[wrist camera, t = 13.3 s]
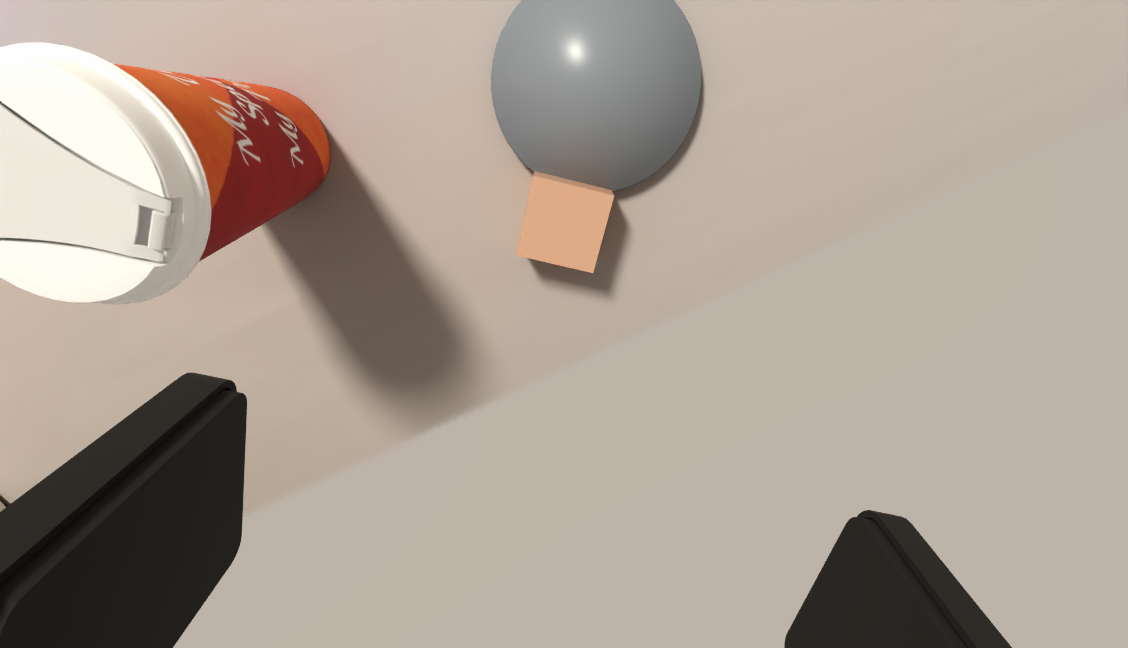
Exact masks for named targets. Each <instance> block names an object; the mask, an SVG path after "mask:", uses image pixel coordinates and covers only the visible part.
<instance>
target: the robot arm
mask: <svg viewBox="0 0 1128 648" xmlns="http://www.w3.org/2000/svg"><path fill="white" fill-rule="evenodd" d="M246 415H247V398H246V396H245V395H244V394H243V393H239V392H237V390H236V386H235V383H234V382H232V381H231V380H226V379H222V378H217V377H212V376H207V375H202V374H197V373H186V374H184V375H182V376H181V377H180V378H178V379H177V380H175V381H174V382H173V383H171V384H170V385H169V386H167V387H166V388H165V389H163V390H162V391H161V392H159V393H158V394H157V395H155V396H154V397H153V398H151V399H150V400H149V401H147V402H146V403H145V404H143V405H142V406H141V407H139V408H138V409H137V410H135V411H134V412H133V413H131V414H130V415H129V416H127V417H126V418H125V419H123V420H122V421H121V422H119V423H118V424H117V425H115V426H114V427H113V428H111V429H110V430H109V431H107V432H106V433H105V434H103V435H102V436H101V437H99V438H98V439H97V440H95V441H94V442H93V443H91V444H90V445H89V446H87V447H86V448H85V449H83V450H82V451H81V452H79V453H78V454H77V455H75V456H74V457H73V458H71V459H70V460H69V461H67V462H66V463H65V464H63V465H62V466H61V467H59V468H58V469H57V470H55V471H54V472H53V473H51V474H50V475H49V476H47V477H46V478H45V479H43V480H42V481H41V482H39V483H38V484H37V485H35V486H34V487H33V488H31V489H30V490H29V491H27V492H26V493H25V494H23V495H22V496H21V497H19V498H18V499H17V500H15V501H14V502H13V503H11V504H10V505H9V506H7V507H6V506H5V505H4V504H3V503H2V502H1V501H0V648H173V646H174V645H175V644H176V642H177V641H178V639H179V638H180V637H181V635H182V634H183V632H184V631H185V629H186V628H187V626H188V625H189V624H190V622H191V621H192V619H193V618H194V616H195V615H196V614H197V612H198V611H199V609H200V608H201V606H202V605H203V603H204V602H205V601H206V599H207V598H208V596H209V595H210V594H211V592H212V591H213V589H214V588H215V586H216V585H217V584H218V582H219V581H220V579H221V578H222V576H223V575H224V574H225V572H226V571H227V569H228V568H229V566H230V565H231V563H232V562H233V560H234V558H235V556H236V554H237V551H238V549H239V546H240V542H241V536H242V513H243V489H244V464H245V439H246ZM785 648H1012V647H1011V646H1010V645H1009V644H1008V642H1007V641H1006V640H1005V639H1004V638H1003V636H1002V635H1001V634H1000V632H999V631H998V630H997V629H996V628H995V627H994V625H993V624H992V623H991V621H990V620H989V619H988V618H987V617H986V615H985V614H984V613H983V611H982V610H981V609H980V608H979V607H978V605H977V604H976V603H975V602H974V601H973V599H972V598H971V597H970V595H969V594H968V593H967V592H966V591H965V589H964V588H963V587H962V586H961V584H960V583H959V582H958V581H957V579H956V578H955V577H954V576H953V574H952V573H951V572H950V571H949V569H948V568H947V567H946V566H945V564H944V563H943V562H942V561H941V560H940V558H939V557H938V556H937V555H936V553H935V552H934V551H933V550H932V548H931V547H930V546H929V545H928V544H927V542H926V541H925V540H924V539H923V537H922V536H921V535H920V534H919V532H918V531H917V530H916V529H915V528H914V526H913V525H912V524H911V523H910V522H909V521H908V520H907V519H906V518H903V517H900V516H895V515H891V514H886V513H881V512H876V511H871V510H867V511H863V512H861V513H860V514H859V515H858V516H857V517H853V518H851V519H850V520H849V521H848V522H847V523H846V525H845V527H844V529H843V531H842V533H841V534H840V536H839V538H838V540H837V542H836V544H835V545H834V547H833V549H832V551H831V553H830V555H829V556H828V558H827V561H826V562H825V564H824V566H823V568H822V570H821V571H820V573H819V575H818V577H817V579H816V581H815V582H814V585H813V587H812V588H811V590H810V592H809V594H808V596H807V598H806V599H805V601H804V603H803V605H802V607H801V609H800V610H799V612H798V614H797V616H796V618H795V620H794V622H793V624H792V625H791V627H790V629H789V631H788V633H787V635H786V639H785Z"/></svg>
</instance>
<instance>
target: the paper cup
mask: <svg viewBox="0 0 1128 648" xmlns="http://www.w3.org/2000/svg"><path fill="white" fill-rule="evenodd" d="M329 164H330V146H329V141H328V137H327V134H326V131H325V129H324V127H323V125H322V123H321V122H320V120H319V118H318V117H317V116H316V114H315V113H314V112H313V111H312V110H311V109H310V108H309V107H308V106H307V105H306V104H305V103H304V102H303V101H301V100H300V99H298V98H297V97H295V96H293V95H291V94H289V93H287V92H285V91H282V90H279V89H276V88H272V87H267V86H262V85H256V84H250V83H244V82H237V81H231V80H224V79H217V78H210V77H203V76H196V75H189V74H182V73H175V72H168V71H160V70H153V69H146V68H139V67H132V66H124V65H117V64H112V63H110V62H108V61H106V60H104V59H102V58H100V57H97V56H95V55H93V54H91V53H88V52H84V51H81V50H78V49H75V48H72V47H68V46H62V45H56V44H50V43H20V44H15V45H9V46H4V47H1V48H0V277H1V278H2V279H4V280H6V281H8V282H10V283H11V284H13V285H15V286H17V287H19V288H21V289H24V290H26V291H29V292H31V293H34V294H36V295H39V296H43V297H47V298H50V299H54V300H58V301H65V302H72V303H103V304H129V303H136V302H142V301H146V300H149V299H152V298H155V297H158V296H160V295H162V294H164V293H166V292H167V291H169V290H171V289H173V288H174V287H176V286H177V285H178V284H179V283H181V282H182V281H183V280H184V279H185V278H186V277H188V275H189V274H190V273H191V272H192V270H193V269H194V268H195V266H196V265H197V264H198V262H199V261H201V260H202V259H204V258H206V257H208V256H209V255H211V254H213V253H214V252H216V251H218V250H219V249H221V248H223V247H225V246H226V245H228V244H230V243H231V242H233V241H235V240H237V239H238V238H240V237H242V236H243V235H245V234H247V233H249V232H250V231H252V230H254V229H255V228H257V227H259V226H260V225H262V224H264V223H265V222H267V221H269V220H270V219H272V218H274V217H276V216H277V215H279V214H280V213H282V212H284V211H285V210H287V209H289V208H290V207H292V206H294V205H295V204H297V203H298V202H300V201H301V200H303V199H305V198H306V197H307V196H309V195H310V194H311V193H313V192H314V191H315V190H316V189H317V188H318V187H319V186H320V184H321V183H322V182H323V180H324V178H325V176H326V174H327V172H328V168H329Z"/></svg>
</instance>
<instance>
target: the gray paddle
mask: <svg viewBox="0 0 1128 648" xmlns="http://www.w3.org/2000/svg"><path fill="white" fill-rule="evenodd" d="M491 90H492V98H493V105H494V109H495V113H496V117H497V120H498V123H499V125H500V128H501V131H502V133H503V135H504V136H505V138H506V140H507V142H508V144H509V145H510V147H511V148H512V150H513V151H514V152H515V154H516V155H517V156H518V157H519V159H520V160H521V161H522V162H523V163H524V164H525V165H526V166H527V167H528V168H530V169H531V170H532V171H533V172H534V174H533V178H532V183H531V187H530V192H529V197H528V201H527V206H526V211H525V215H524V220H523V224H522V229H521V234H520V238H519V243H518V248H517V252H516V255H517V256H521V257H525V258H530V259H534V260H538V261H543V262H547V263H551V264H555V265H560V266H564V267H568V268H573V269H577V270H581V271H585V272H590V273H593V272H594V268H595V265H596V261H597V257H598V254H599V250H600V246H601V243H602V239H603V235H604V232H605V228H606V224H607V221H608V217H609V213H610V210H611V206H612V202H613V199H614V194H613V192H612V191H616V190H620V189H624V188H626V187H629V186H632V185H634V184H636V183H638V182H640V181H642V180H644V179H646V178H647V177H649V176H650V175H652V174H653V173H655V172H656V171H657V170H659V169H660V168H661V167H662V166H663V165H664V164H665V163H666V162H667V161H668V160H669V159H670V158H671V157H672V156H673V155H674V153H675V152H676V151H677V150H678V148H679V147H680V145H681V144H682V142H683V141H684V139H685V137H686V135H687V133H688V131H689V129H690V128H691V125H692V122H693V120H694V117H695V114H696V111H697V107H698V103H699V98H700V90H701V63H700V55H699V51H698V47H697V43H696V39H695V37H694V34H693V32H692V29H691V26H690V24H689V23H688V21H687V19H686V17H685V15H684V14H683V12H682V11H681V9H680V8H679V7H678V5H677V4H676V3H675V1H674V0H522V1H521V2H520V3H519V4H518V6H517V7H516V8H515V10H514V11H513V13H512V14H511V15H510V17H509V19H508V20H507V22H506V24H505V26H504V28H503V30H502V32H501V35H500V37H499V40H498V43H497V46H496V50H495V54H494V58H493V65H492V73H491Z"/></svg>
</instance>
